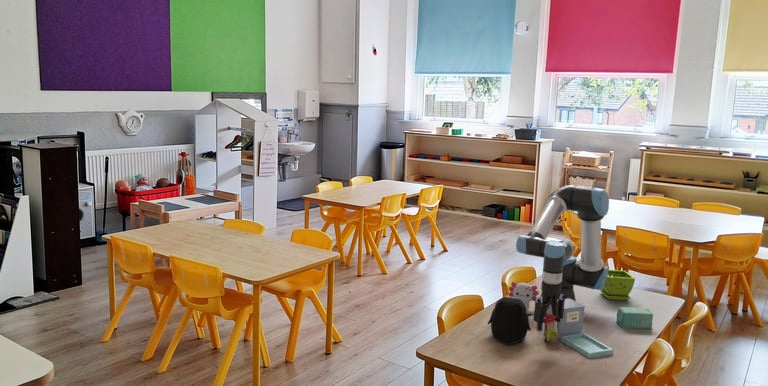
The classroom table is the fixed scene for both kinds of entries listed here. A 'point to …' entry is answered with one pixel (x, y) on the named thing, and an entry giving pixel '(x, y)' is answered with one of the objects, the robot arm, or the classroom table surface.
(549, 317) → the bird rattle
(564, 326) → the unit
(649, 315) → the box
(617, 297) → the flower pot
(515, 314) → the penguin
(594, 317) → the classroom table surface
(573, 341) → the tray
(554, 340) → the walnut dowel
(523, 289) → the toy
